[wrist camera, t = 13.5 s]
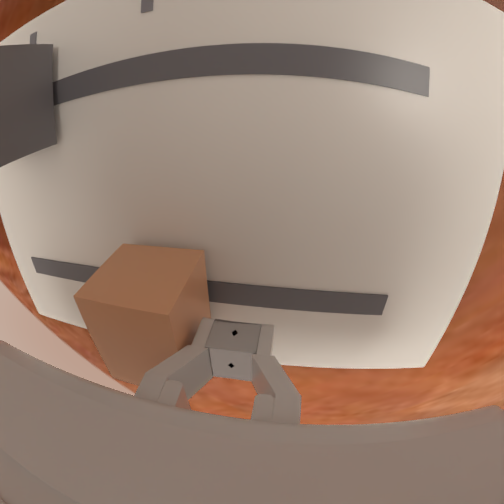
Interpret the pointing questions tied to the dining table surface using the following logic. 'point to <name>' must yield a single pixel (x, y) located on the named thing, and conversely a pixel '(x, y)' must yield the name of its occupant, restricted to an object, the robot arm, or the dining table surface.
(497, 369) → the dining table surface
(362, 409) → the dining table surface
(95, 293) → the block
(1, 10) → the dining table surface
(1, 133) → the block
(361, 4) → the fader panel
